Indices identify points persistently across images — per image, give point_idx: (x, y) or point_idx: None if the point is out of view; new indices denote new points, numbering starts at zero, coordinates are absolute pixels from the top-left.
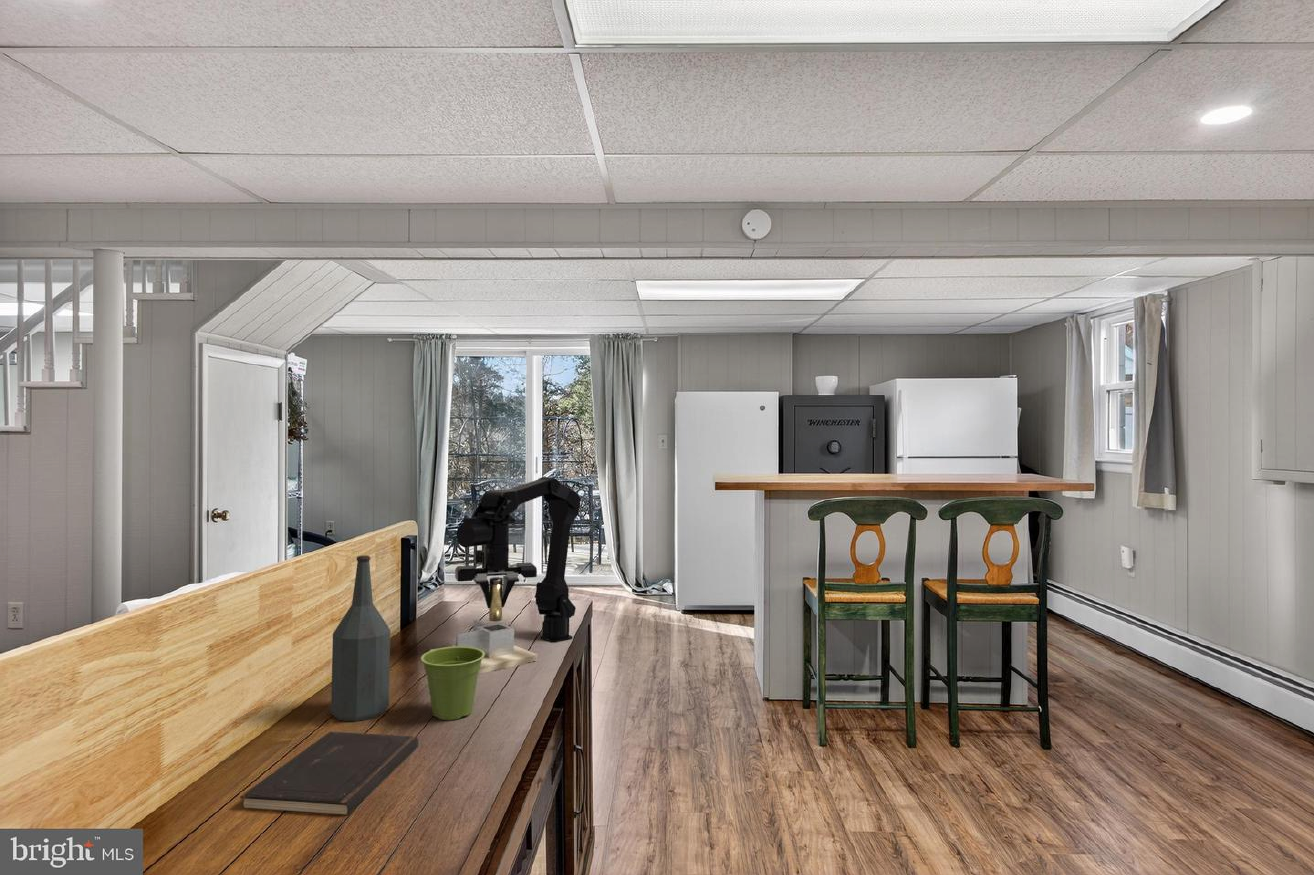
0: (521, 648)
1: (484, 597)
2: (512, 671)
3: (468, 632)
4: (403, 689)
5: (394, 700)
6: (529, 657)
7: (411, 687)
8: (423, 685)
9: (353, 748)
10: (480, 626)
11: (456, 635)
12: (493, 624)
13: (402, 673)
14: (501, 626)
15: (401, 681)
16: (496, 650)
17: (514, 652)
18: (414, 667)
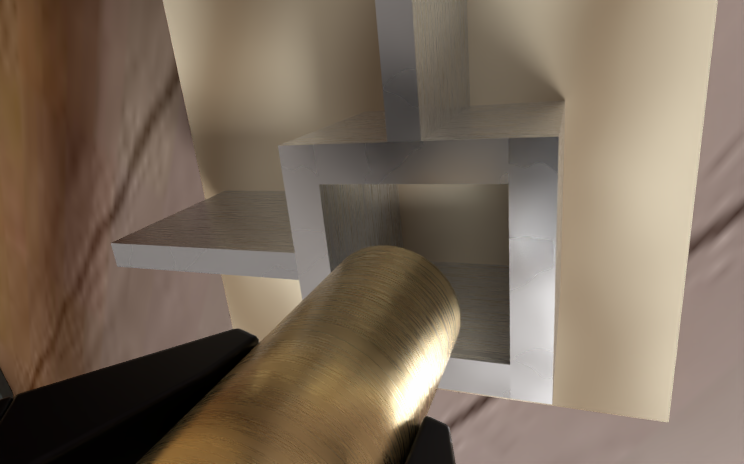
0: (684, 236)
1: (90, 380)
2: (442, 420)
3: (185, 260)
4: (48, 300)
5: (29, 365)
6: (597, 408)
7: (69, 301)
8: (102, 311)
9: None
10: (318, 147)
11: (119, 240)
12: (457, 155)
13: (44, 125)
14: (511, 235)
15: (42, 220)
16: None
17: (573, 285)
18: (86, 68)
